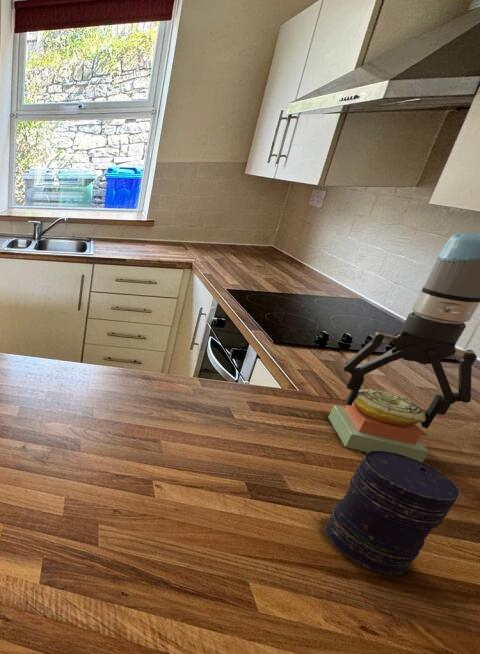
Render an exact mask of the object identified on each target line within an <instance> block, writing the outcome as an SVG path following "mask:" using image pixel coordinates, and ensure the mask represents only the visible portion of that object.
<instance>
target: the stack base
mask: <svg viewBox="0 0 480 654" xmlns="http://www.w3.org/2000/svg"><path fill="white" fill-rule="evenodd" d="M345 408H346V406H340V405H336V404H334V405H333V406H332V408H331V411H330V413H329V415H328V416H327V417H328V420H329V421H330V423H331V425H332V426H333V428H334V430H335V432H336V434H337V435H338V437H339V439H340V440H341V443H342V444H343V446H344V447H345V448H346V449H347V448H348V449H352V450H356V451H359V452H365V453H368V452H370V451H388V452H393V453H397V454H401V455H404V456H407V457H410V458H413V459H415V460H418V461H420V462H422V463H424V461H425V459H426V457H427V456H428V454H429V453H430V451H429V450H428V449H427V448H426V446H425V445H424V444H423V443H422V442H421V440H420V439H419V440H418V441H417V443H416V445H414V444H409V443H405V442H401V441H396V440H392V439H388V438H383V437H379V436H375V435H370V434H366V433H362V432H359V431H358V430H357V428H356V427H355V425H354V424H353V422H352V421H351V419H350V418H349V416H348V415H347V413H346V412H345Z"/></svg>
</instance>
